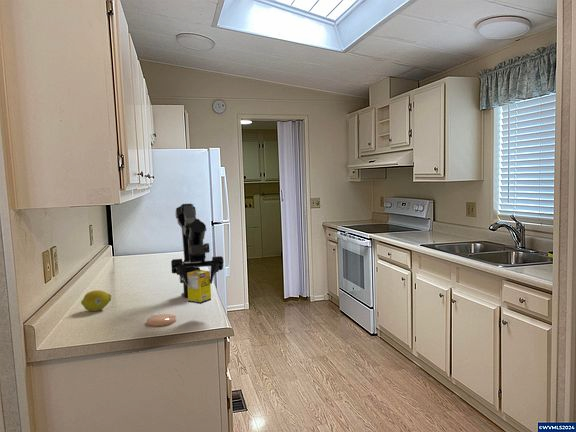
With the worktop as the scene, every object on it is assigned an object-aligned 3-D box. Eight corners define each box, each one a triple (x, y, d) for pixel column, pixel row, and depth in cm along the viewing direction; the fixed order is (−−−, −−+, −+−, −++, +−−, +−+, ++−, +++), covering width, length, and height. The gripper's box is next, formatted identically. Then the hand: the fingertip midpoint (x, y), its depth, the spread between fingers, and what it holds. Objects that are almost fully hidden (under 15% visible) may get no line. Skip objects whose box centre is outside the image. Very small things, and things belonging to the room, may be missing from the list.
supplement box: (211, 300, 154) (210, 270, 153) (200, 304, 149) (199, 274, 148) (199, 298, 157) (198, 269, 156) (187, 302, 152) (186, 272, 151)
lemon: (80, 315, 161) (79, 294, 160) (82, 309, 168) (81, 289, 167) (111, 311, 164) (110, 291, 164) (112, 306, 172) (111, 286, 171)
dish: (144, 320, 152) (143, 317, 152) (171, 315, 157) (171, 312, 157) (150, 328, 143) (150, 325, 143) (179, 323, 148) (179, 319, 148)
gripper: (170, 237, 152) (171, 273, 143) (222, 234, 157) (226, 269, 148) (171, 255, 161) (172, 290, 151) (220, 252, 166) (224, 286, 156)
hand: (199, 284), depth 151 cm, fingers closed on supplement box, 8 cm apart
